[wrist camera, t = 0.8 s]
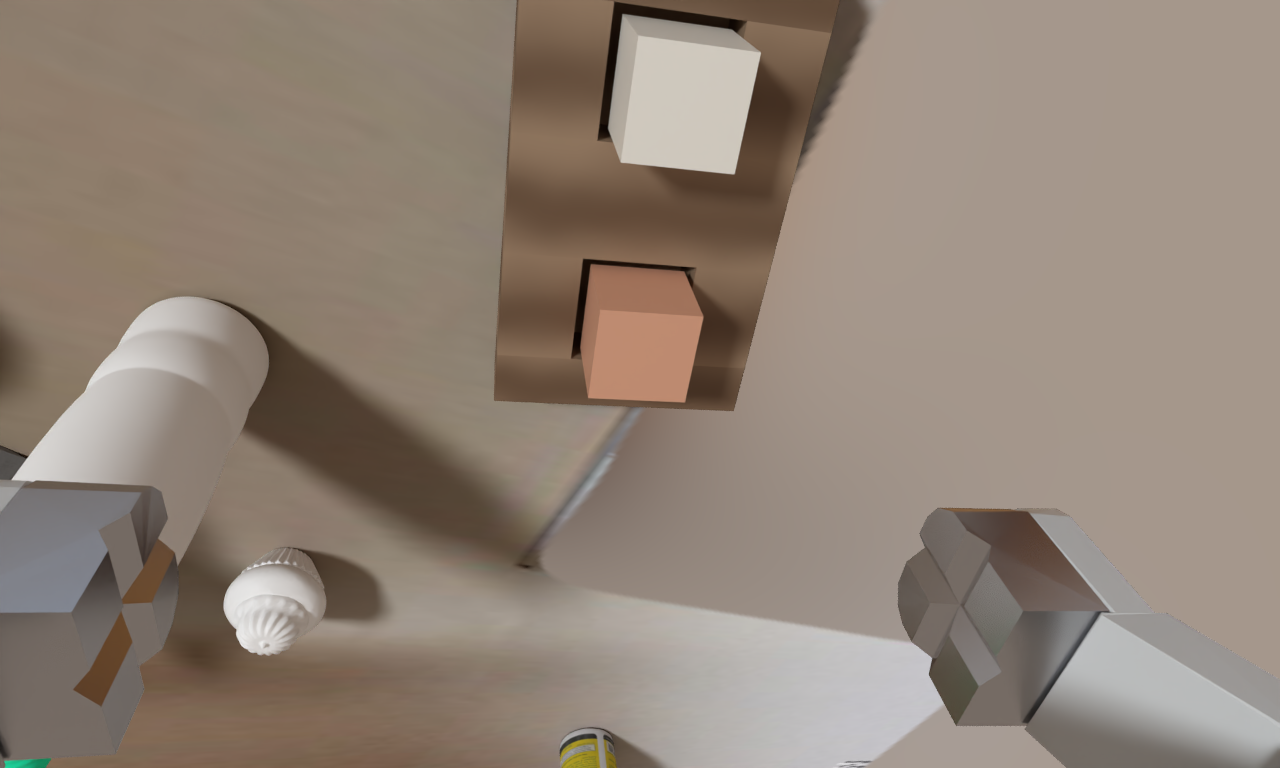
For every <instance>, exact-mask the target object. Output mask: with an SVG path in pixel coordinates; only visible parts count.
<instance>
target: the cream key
mask: <svg viewBox="0 0 1280 768" xmlns="http://www.w3.org/2000/svg"><path fill="white" fill-rule="evenodd" d="M760 55H761V52H760V51H758V50H757V49H756V48H755V47H753V46H752V45H751V44H750V43H748V42H747V41H746V40H744V39H743V38H742V37H741V36H739V35H738V34H737V33H736V32H734V31H733V30H732V29H725V28H718V27H711V26H704V25H697V24H690V23H683V22H676V21H669V20H662V19H655V18H648V17H641V16H634V15H627V14H622V22H621V30H620V38H619V46H618V54H617V62H616V69H615V77H614V85H613V93H612V101H611V109H610V117H609V125H608V130H609V132H610V135H611V138H612V140H613V143H614V146H615V148H616V151H617V154H618V156H619V159H620V162H621V163H630V164H639V165H649V166H658V167H668V168H677V169H687V170H696V171H706V172H716V173H725V174H735V170H736V165H737V161H738V156H739V152H740V147H741V142H742V138H743V133H744V129H745V124H746V120H747V115H748V110H749V106H750V101H751V97H752V92H753V87H754V83H755V78H756V74H757V69H758V64H759V60H760Z"/></svg>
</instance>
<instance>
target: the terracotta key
mask: <svg viewBox="0 0 1280 768" xmlns="http://www.w3.org/2000/svg"><path fill="white" fill-rule="evenodd" d="M702 322H703V314H702V312H701V310H700V307H699V305H698V303H697V300H696V298H695V296H694V293H693V291H692V289H691V286H690V284H689V282H688V279H687V277H686V275H685V272H684V271H672V270H659V269H647V268H634V267H621V266H609V265H596V264H591V266H590V274H589V282H588V290H587V298H586V306H585V313H584V321H583V329H582V337H581V345H580V349H581V355H582V362H583V368H584V375H585V381H586V388H587V394H588V398H596V399H618V400H641V401H663V402H685V400H686V395H687V391H688V386H689V381H690V377H691V372H692V368H693V363H694V358H695V354H696V349H697V345H698V340H699V335H700V331H701V326H702Z"/></svg>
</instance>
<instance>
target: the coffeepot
mask: <svg viewBox="0 0 1280 768" xmlns="http://www.w3.org/2000/svg"><path fill="white" fill-rule="evenodd" d="M25 461H26V458H24V457H22V456H21V455H19V454H17V453H15V452H13V451H11V450H9V449H7V448H4V447H2V446H0V480H12V478H13V477H14V476H15V474H16V473H17V471H18V470H19V469H20V467H21V466H22V465H23V463H24V462H25Z"/></svg>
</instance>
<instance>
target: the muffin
mask: <svg viewBox="0 0 1280 768" xmlns="http://www.w3.org/2000/svg"><path fill="white" fill-rule="evenodd" d="M323 589H324V585H323V583H322V581H321V578H320V576H319V574H318V572H317V570H316V568H315V566H314V564H313V562H312V560H311V559H310V557H309V556H307V555H306V553H303V552H302V551H298V549H293V548H278V549H277V550H276V549H274V550H272V551H270V552H268V553H267V554H266V555H264V556H263V557H261V558H260V559H258V560H257V561H256V562H254V563H253V564H251V565H250V566H249V567H247V568H246V569H245V570H243V571H242V574H240V575H239V576H238V577H237V578H236V579H235V580H234V581H233V582H232V583H231V585H230V586H229V588H228V590H227V592H226V594H225V598H224V604H223V606H224V612H225V615H226V617H227V619H228V620H229V622H230V623H231V625H232V626H233V627H234V628H235V629H236V630H237V631H236V636H237V638H238V640H239V642H240V644H241V646H242V647H244V648H245V649H248V651H249V652H251V653H257V654H258V655H262V654H266V655H268V656H270V655H271V654H272V653H273V654H279V653H280V652H281V651H285V650H287V649H289V648H290V645H291V644H293V643H295V642H296V639H297V638H298V637H300V636H302V635H304V634H306V633H308V632H309V631H311V630H312V629H313V628H315V627H316V626H317V625H318V624H319V623H320V621H321V620H322V618H323V616H324V613H325V610H326V595H325V592H324V590H323Z"/></svg>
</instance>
